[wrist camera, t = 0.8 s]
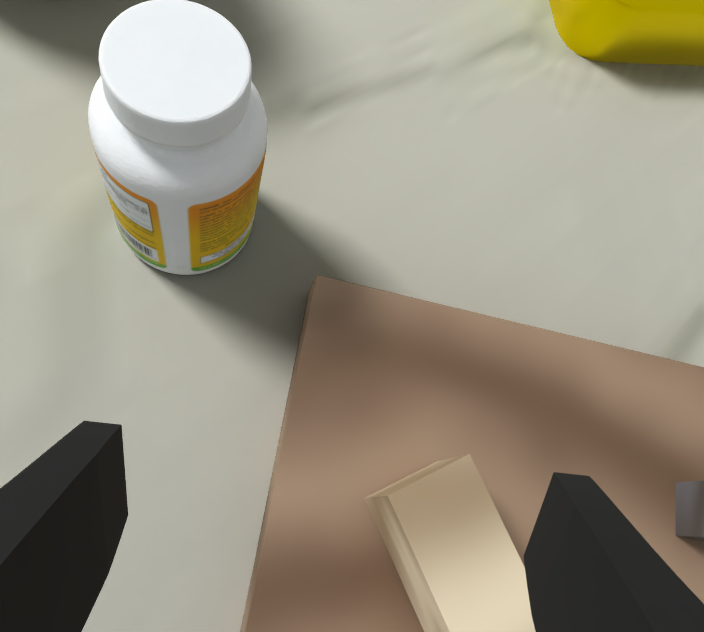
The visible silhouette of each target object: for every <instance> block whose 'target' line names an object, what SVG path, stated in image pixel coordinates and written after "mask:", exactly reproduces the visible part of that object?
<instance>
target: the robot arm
mask: <svg viewBox="0 0 704 632" xmlns="http://www.w3.org/2000/svg"><path fill="white" fill-rule="evenodd" d="M127 517H128V507H127V494H126V480H125V467H124V453H123V439H122V426H121V425H118V424H109V423H99V422H90V421H83V422H82V423H81V424H79V425H78V426H77V427H75V428H74V429H73V430H72V431H70V432H69V433H68V434H67V435H65V436H64V437H63V438H62V439H61V440H59V441H58V442H57V443H56V444H55V445H53V446H52V447H51V448H50V449H48V450H47V451H46V452H45V453H44V454H42V455H41V456H40V457H39V458H38V459H36V460H35V461H34V462H33V463H31V464H30V465H29V466H28V467H27V468H25V469H24V470H23V471H22V472H20V473H19V474H18V475H17V476H15V477H14V478H13V479H12V480H10V481H9V482H8V483H7V484H5V485H4V486H3V487H2V488H0V632H81V631H82V629H83V627H84V625H85V623H86V621H87V619H88V617H89V614H90V612H91V610H92V608H93V606H94V604H95V602H96V599H97V597H98V595H99V593H100V591H101V589H102V587H103V584H104V582H105V580H106V578H107V576H108V573H109V571H110V568H111V565H112V562H113V559H114V556H115V553H116V550H117V547H118V544H119V541H120V538H121V535H122V532H123V529H124V526H125V523H126V520H127ZM523 557H524V565H525V572H526V580H527V588H528V595H529V601H530V608H531V614H532V619H533V623H534V627H535V631H536V632H704V604H703V602H702V601H701V600H700V599H699V598H698V597H697V596H696V595H695V594H694V593H693V592H692V591H691V590H690V589H689V588H688V587H687V585H686V584H685V583H684V582H683V581H682V580H681V579H680V578H679V577H678V576H677V575H676V574H675V572H674V571H673V570H672V569H671V568H670V567H669V566H668V565H667V564H666V562H665V561H664V560H663V559H662V558H661V557H660V556H659V555H658V553H657V552H656V551H655V550H654V549H653V548H652V547H651V546H650V544H649V543H648V542H647V541H646V540H645V539H644V538H643V536H642V535H641V534H640V533H639V532H638V531H637V530H636V528H635V527H634V526H633V525H632V524H631V523H630V521H629V520H628V519H627V518H626V517H625V516H624V514H623V513H622V512H621V511H620V510H619V509H618V508H617V506H616V505H615V504H614V503H613V502H612V501H611V499H610V498H609V497H608V496H607V495H606V494H605V493H604V491H603V490H602V489H601V488H600V487H599V486H598V485H597V484H596V482H595V481H594V480H593V479H592V478H591V477H590V476H585V475H576V474H567V473H558V472H554V473H553V475H552V478H551V481H550V484H549V486H548V489H547V492H546V495H545V498H544V500H543V503H542V506H541V509H540V512H539V514H538V517H537V520H536V523H535V525H534V528H533V531H532V534H531V537H530V539H529V542H528V545H527V548H526V551H525V553H524V556H523Z"/></svg>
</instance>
